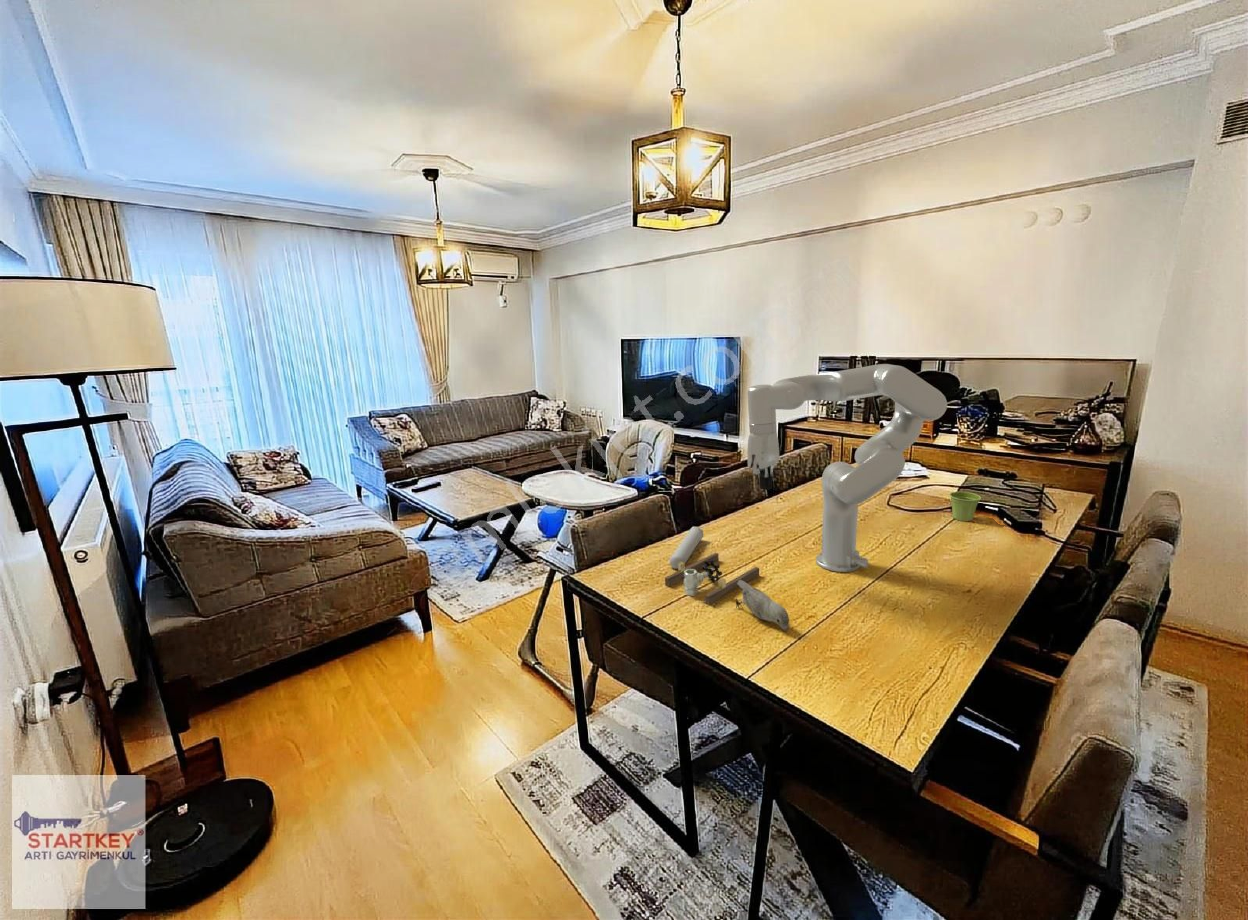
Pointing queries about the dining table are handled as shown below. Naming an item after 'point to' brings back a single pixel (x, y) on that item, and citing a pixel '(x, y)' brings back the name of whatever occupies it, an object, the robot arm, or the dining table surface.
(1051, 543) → the dining table surface
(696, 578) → the valve
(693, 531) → the tube
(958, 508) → the plant pot
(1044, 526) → the dining table surface
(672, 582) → the guide track
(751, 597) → the decorative bird
